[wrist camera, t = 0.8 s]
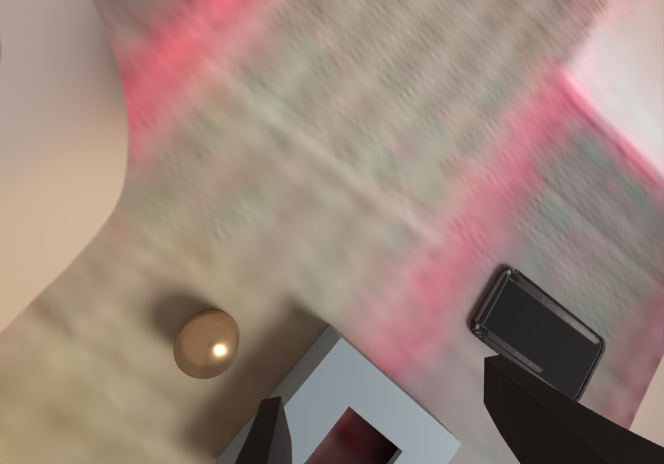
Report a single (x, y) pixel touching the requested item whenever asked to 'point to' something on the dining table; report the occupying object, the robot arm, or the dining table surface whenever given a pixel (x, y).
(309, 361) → the box
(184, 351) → the disc
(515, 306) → the phone
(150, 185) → the dining table surface
